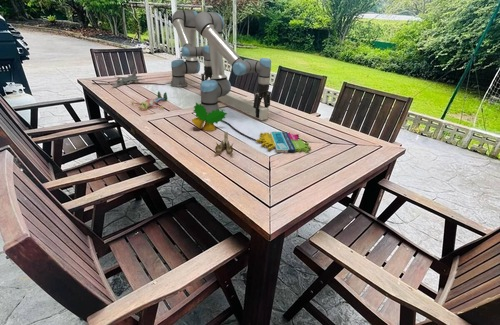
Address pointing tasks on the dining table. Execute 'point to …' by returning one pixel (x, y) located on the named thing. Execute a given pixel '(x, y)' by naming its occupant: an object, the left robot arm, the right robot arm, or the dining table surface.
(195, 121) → the ornament
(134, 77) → the airplane
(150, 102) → the toy
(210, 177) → the dining table surface
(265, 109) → the post
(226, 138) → the jawbone
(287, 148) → the sign
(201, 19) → the right robot arm
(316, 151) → the dining table surface
